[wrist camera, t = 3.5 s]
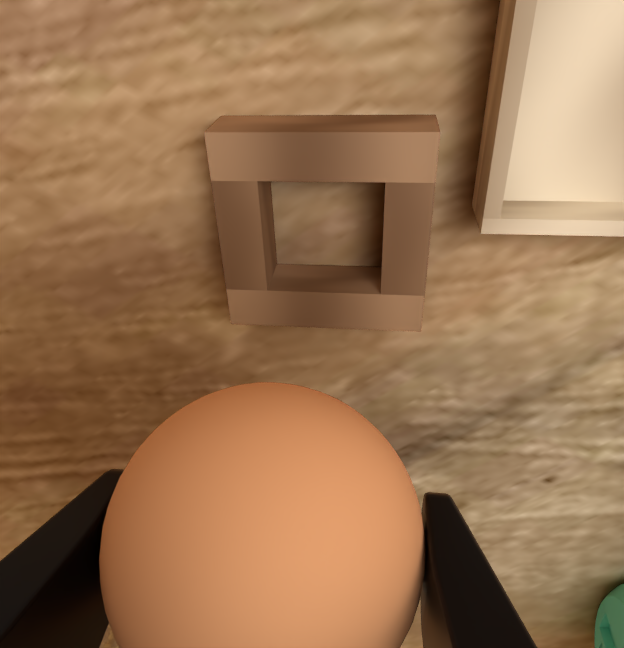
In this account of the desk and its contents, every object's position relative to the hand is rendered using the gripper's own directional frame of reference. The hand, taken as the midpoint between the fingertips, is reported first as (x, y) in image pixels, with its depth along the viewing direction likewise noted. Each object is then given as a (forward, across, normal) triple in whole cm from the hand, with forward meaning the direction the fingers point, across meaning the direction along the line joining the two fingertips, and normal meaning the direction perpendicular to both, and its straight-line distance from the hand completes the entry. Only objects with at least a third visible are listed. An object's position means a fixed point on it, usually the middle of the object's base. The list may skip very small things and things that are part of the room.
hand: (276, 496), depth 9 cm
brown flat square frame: (+12, 0, 0) cm, 12 cm away
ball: (+2, 0, 0) cm, 2 cm away
